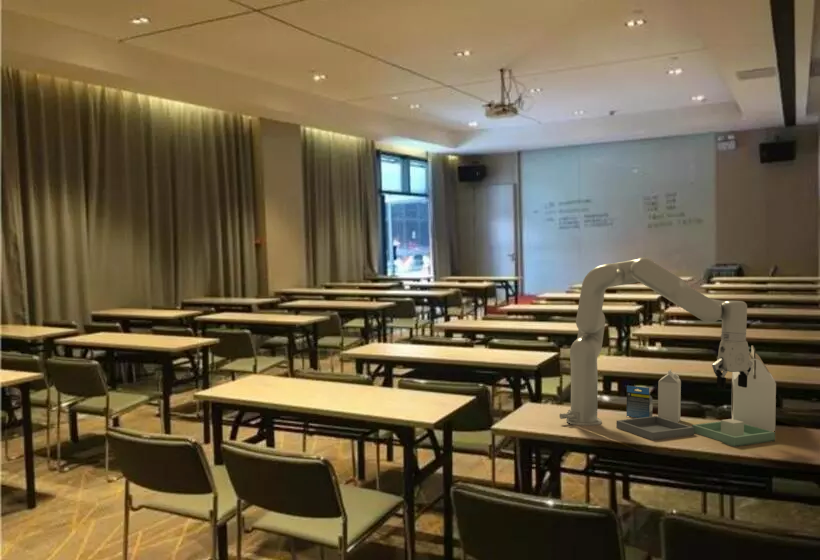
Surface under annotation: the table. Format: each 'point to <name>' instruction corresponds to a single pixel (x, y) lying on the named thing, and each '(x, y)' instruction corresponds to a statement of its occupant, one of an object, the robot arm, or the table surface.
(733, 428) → the beige cube
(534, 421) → the table surface
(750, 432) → the sage green bin
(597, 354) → the robot arm
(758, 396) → the gable box
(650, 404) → the label tape cartridge
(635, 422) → the charcoal bin
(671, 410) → the milk carton
